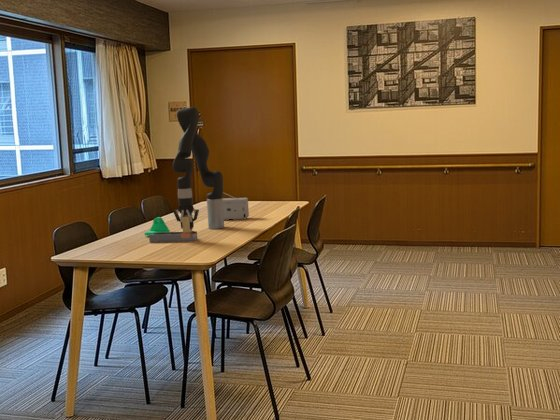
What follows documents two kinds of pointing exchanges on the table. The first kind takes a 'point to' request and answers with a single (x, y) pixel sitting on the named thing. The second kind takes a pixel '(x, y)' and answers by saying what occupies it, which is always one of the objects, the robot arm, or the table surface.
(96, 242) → the table surface
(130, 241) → the table surface
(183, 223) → the tan upright block
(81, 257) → the table surface
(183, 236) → the rail
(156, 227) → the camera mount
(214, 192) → the robot arm
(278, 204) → the table surface
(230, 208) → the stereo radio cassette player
